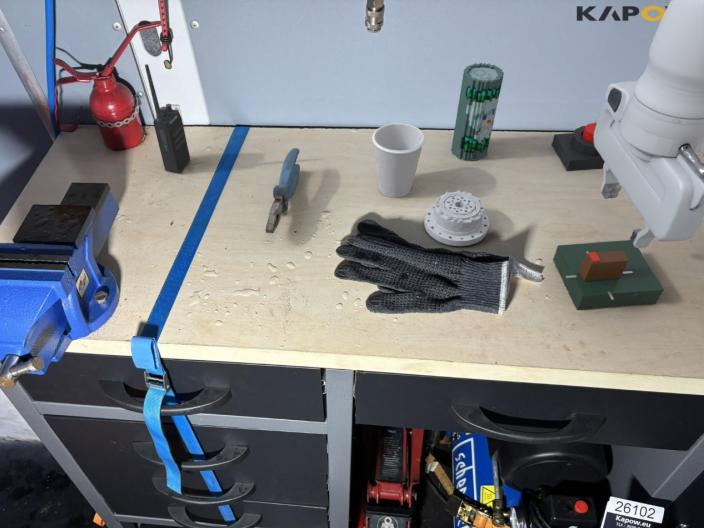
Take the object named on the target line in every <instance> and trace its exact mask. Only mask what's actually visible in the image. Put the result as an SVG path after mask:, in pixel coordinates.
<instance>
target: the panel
mask: <svg viewBox="0 0 704 528" xmlns="http://www.w3.org/2000/svg"><path fill="white" fill-rule="evenodd" d="M610 251H623V252H624V253H625V255H626V257H627V258H628V260H629V261H628V263H627V265H626V267H625V269H624V271H623V273H622V275H621V277H620V279H608V280H594V281H584V280H583V278H582V276H581V274H580V272H579V270H580V267H581V265H582V263H583V260H584V258H585V255H586V253H589V252H596V253H597V252H610ZM552 261H553V263H554V266H555V267H556V270H557V271H558V274H559V275H560V278H561V280H562V282H563V284H564V286H565V288H566V291H567V293H568V295H569V297H570V299H571V301H572V303H573V305H574V307H575V309H576V310H577V311H583V310H597V309H609V308H622V307H623V308H624V307H637V306H648V305H649V306H650V305H651V306H652V305H656V304H657V303H658V301H659V299H660V298H661V296H662V295H663V292H664V291H665V288H664V286H662V284H661V282H660V281H659V278H658V277H657V275H656V274H655V272H654V271H653V270H652V268H651V266H650V265H649V263H648V261H647V260H646V258H645V256H644V254H643V253H642V252H641V250H640V248H635V246H634V245H633V243H632V241H631V240H630V239H625V240H612V241H598V242H585V243H583V242H582V243H572V244H571V243H570V244H558V245H557V247H556V250H555V252H554V256H553V258H552Z"/></svg>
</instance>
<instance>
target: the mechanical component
mask: <svg viewBox="0 0 704 528" xmlns="http://www.w3.org/2000/svg"><path fill="white" fill-rule="evenodd" d="M423 223H424V225H423V226H424V228H425V232H427V233H428V235H429V236H430V237H431V238H433V239H434V240H436V241H437V242H438V243H441V244H444V245H447V246H453V247H465V246H471V245H474V244H477V243H479V242H481V241H482V240H483V239H484V238H485V237H487V234H488V232H489V229H490V228H489V227H490V218H489V215H488V213H487V212H486V211H485V205H484V203H483V202H482V199H481V197H480V198H479V197H476V196H475V195H473V194H472V192H467V191H465V190H462V191H461V190H460V189H459V190H458V189H457V190H456V191H453V192H450V191H446V192H445V193H444V194H442V195H440V196H437V198H436V200H435V201H434V203H433V204H432V205H430V207H429V208H428V209H427V210H426V212H425V216H424V221H423Z"/></svg>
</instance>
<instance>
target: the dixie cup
mask: <svg viewBox="0 0 704 528" xmlns="http://www.w3.org/2000/svg"><path fill="white" fill-rule="evenodd" d="M371 139H372V143H373V146H374V147H373V148H374V157H375V167H376V178H377V180H376V181H377V189H378V191H379V193H380V194H382V195H383V196H385V197H388V198H390V199H391V198H392V199H397V198H398V199H399V198H403V197H406V196H407V195H409V194H410V192H411V191H412V187H413V183H414V180H415V176H416V172H417V169H418V164H419V161H420V157H421V153H422V149H423V146H424V145H425V142H426V136H425V133H424V132H423V131H422V130H421V129H420V128H418V127H417V126H415V125H412V124H409V123H404V122H392V123H388V124H387V123H386V124H384V125H382V126H379V127H378V128H376V129H375V131H374V132H373V134H372V138H371Z"/></svg>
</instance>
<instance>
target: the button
mask: <svg viewBox="0 0 704 528" xmlns="http://www.w3.org/2000/svg"><path fill="white" fill-rule="evenodd" d="M596 124H597V122H589V123H588V124H586V125H585V126H586V127H585V129H584V132H583V135H582V137H583V139H585V140H587V141H588V142H593V143H594V131H595V128H596Z"/></svg>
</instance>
